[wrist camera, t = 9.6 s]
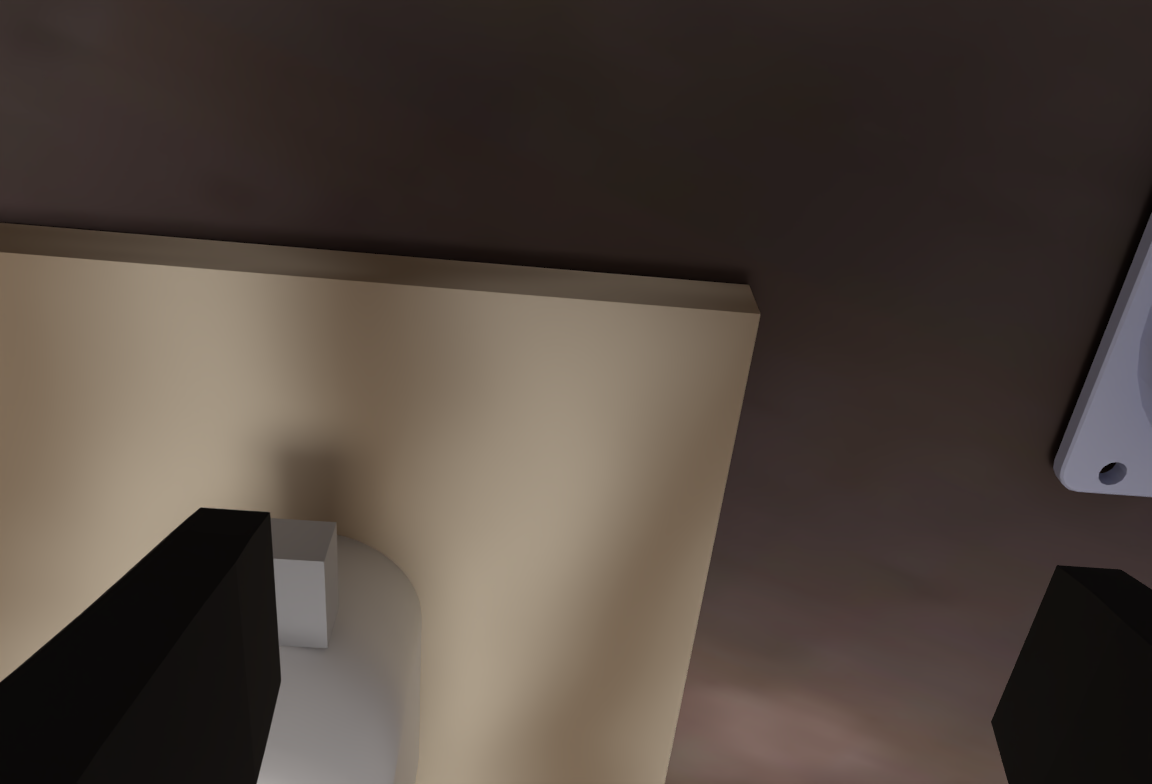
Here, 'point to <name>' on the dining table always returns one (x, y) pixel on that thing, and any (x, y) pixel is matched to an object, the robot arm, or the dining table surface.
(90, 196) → the dining table surface
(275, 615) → the robot arm
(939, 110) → the dining table surface
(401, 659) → the usb plug
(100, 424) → the birch board
